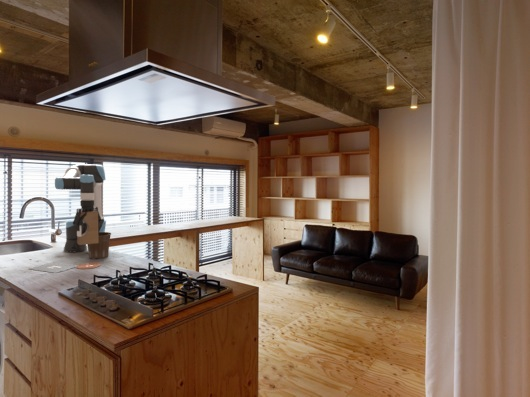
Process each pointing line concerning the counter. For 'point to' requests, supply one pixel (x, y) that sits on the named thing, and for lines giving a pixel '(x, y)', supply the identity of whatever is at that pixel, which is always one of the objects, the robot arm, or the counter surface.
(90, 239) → the decorative block
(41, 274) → the counter surface
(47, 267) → the tile
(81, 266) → the coaster
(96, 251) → the plant pot
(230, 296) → the counter surface
